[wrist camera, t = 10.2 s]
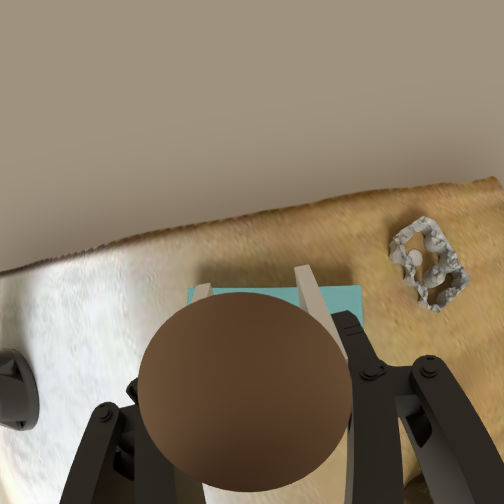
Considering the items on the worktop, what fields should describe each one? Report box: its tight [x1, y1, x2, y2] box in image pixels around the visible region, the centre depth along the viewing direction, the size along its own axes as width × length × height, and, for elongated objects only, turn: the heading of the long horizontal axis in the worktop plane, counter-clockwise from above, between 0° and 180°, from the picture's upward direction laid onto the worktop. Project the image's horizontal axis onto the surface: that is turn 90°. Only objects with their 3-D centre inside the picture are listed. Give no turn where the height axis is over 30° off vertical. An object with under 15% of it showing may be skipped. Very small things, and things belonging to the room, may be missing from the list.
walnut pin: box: [137, 292, 352, 492], centre depth 11 cm, size 4×4×13 cm
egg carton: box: [389, 216, 471, 314], centre depth 27 cm, size 11×8×4 cm
